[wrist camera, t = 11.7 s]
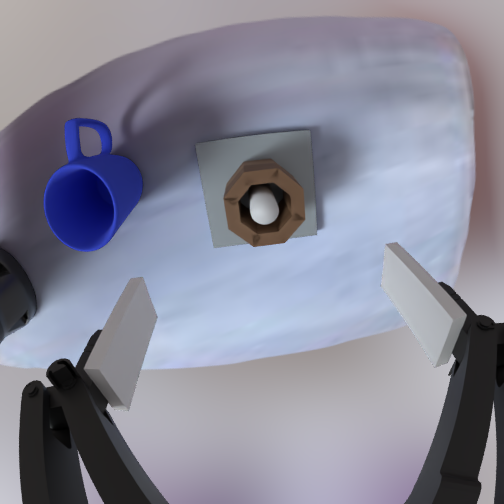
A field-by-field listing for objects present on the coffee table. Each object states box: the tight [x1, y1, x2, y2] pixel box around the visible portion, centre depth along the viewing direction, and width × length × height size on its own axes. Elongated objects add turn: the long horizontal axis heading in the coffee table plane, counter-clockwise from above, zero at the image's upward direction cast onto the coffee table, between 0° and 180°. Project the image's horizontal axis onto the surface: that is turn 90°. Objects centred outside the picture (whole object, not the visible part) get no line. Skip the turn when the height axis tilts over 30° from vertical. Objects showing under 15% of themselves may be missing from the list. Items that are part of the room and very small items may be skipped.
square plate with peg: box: [195, 130, 317, 248], centre depth 28 cm, size 12×12×8 cm
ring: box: [223, 159, 305, 247], centre depth 28 cm, size 7×7×6 cm
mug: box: [44, 118, 143, 252], centre depth 25 cm, size 8×12×10 cm
